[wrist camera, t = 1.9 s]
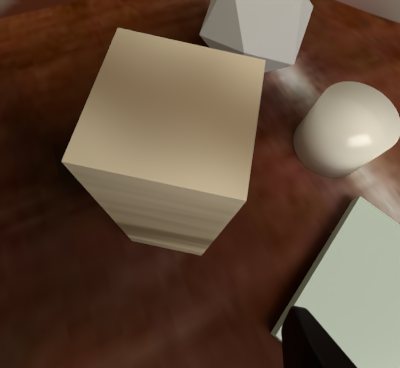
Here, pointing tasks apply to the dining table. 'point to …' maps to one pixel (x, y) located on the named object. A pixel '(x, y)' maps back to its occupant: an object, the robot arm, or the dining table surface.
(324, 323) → the tile
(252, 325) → the dining table surface
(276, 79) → the dining table surface
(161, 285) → the dining table surface
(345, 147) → the cream marshmallow cylinder
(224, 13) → the die
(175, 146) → the maple block
